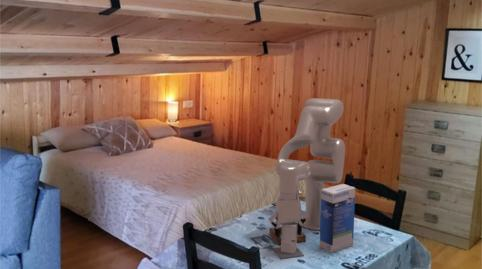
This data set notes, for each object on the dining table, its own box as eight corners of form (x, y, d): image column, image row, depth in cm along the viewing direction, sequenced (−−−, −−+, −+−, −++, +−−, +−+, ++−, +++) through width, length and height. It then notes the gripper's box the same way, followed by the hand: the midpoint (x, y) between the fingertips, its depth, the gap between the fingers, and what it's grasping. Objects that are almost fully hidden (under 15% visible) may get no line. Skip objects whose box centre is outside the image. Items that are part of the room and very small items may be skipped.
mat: (294, 246, 206) (294, 245, 206) (303, 256, 196) (303, 254, 196) (272, 249, 203) (272, 247, 203) (280, 259, 194) (280, 258, 194)
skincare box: (280, 252, 199) (280, 224, 196) (282, 247, 203) (283, 220, 201) (295, 254, 197) (295, 226, 195) (297, 249, 201) (297, 222, 199)
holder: (295, 231, 222) (295, 225, 221) (305, 242, 210) (305, 235, 209) (269, 234, 218) (269, 228, 218) (278, 245, 207) (278, 238, 206)
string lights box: (341, 239, 212) (343, 183, 207) (354, 245, 206) (356, 187, 201) (318, 247, 205) (320, 188, 200) (331, 253, 199) (333, 193, 194)
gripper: (305, 190, 201) (304, 229, 204) (265, 194, 196) (265, 234, 200) (312, 196, 194) (311, 236, 197) (271, 200, 189) (271, 241, 192)
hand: (288, 235), depth 198 cm, fingers open, 8 cm apart
